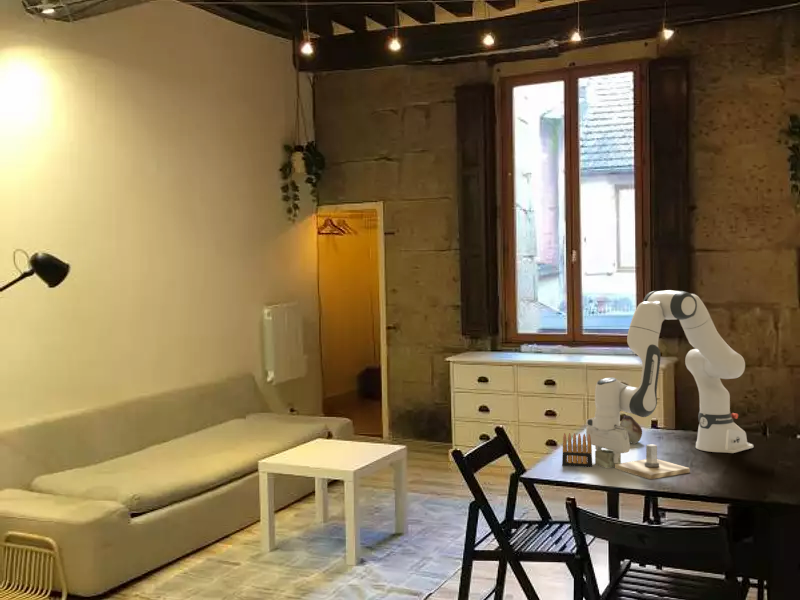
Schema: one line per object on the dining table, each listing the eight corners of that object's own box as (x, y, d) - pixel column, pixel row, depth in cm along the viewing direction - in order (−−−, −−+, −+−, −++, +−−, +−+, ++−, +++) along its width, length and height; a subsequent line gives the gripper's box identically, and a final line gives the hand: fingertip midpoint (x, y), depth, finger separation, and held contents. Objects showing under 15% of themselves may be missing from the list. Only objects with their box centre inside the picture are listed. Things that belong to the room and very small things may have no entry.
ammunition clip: (592, 466, 317) (592, 433, 316) (591, 467, 315) (591, 434, 314) (562, 464, 320) (562, 432, 320) (562, 465, 318) (561, 433, 318)
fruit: (613, 443, 353) (613, 414, 352) (620, 439, 361) (620, 410, 360) (638, 446, 347) (638, 416, 347) (645, 441, 355) (645, 412, 355)
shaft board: (653, 462, 321) (653, 437, 320) (689, 472, 304) (689, 446, 304) (614, 468, 313) (614, 443, 312) (650, 479, 296) (649, 453, 296)
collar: (609, 462, 322) (608, 448, 322) (620, 465, 316) (620, 452, 316) (595, 464, 319) (595, 450, 319) (606, 468, 313) (606, 454, 313)
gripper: (633, 426, 309) (634, 465, 310) (596, 417, 327) (596, 454, 328) (619, 428, 306) (620, 467, 307) (583, 419, 324) (583, 456, 325)
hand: (607, 460), depth 317 cm, fingers closed on collar, 6 cm apart
